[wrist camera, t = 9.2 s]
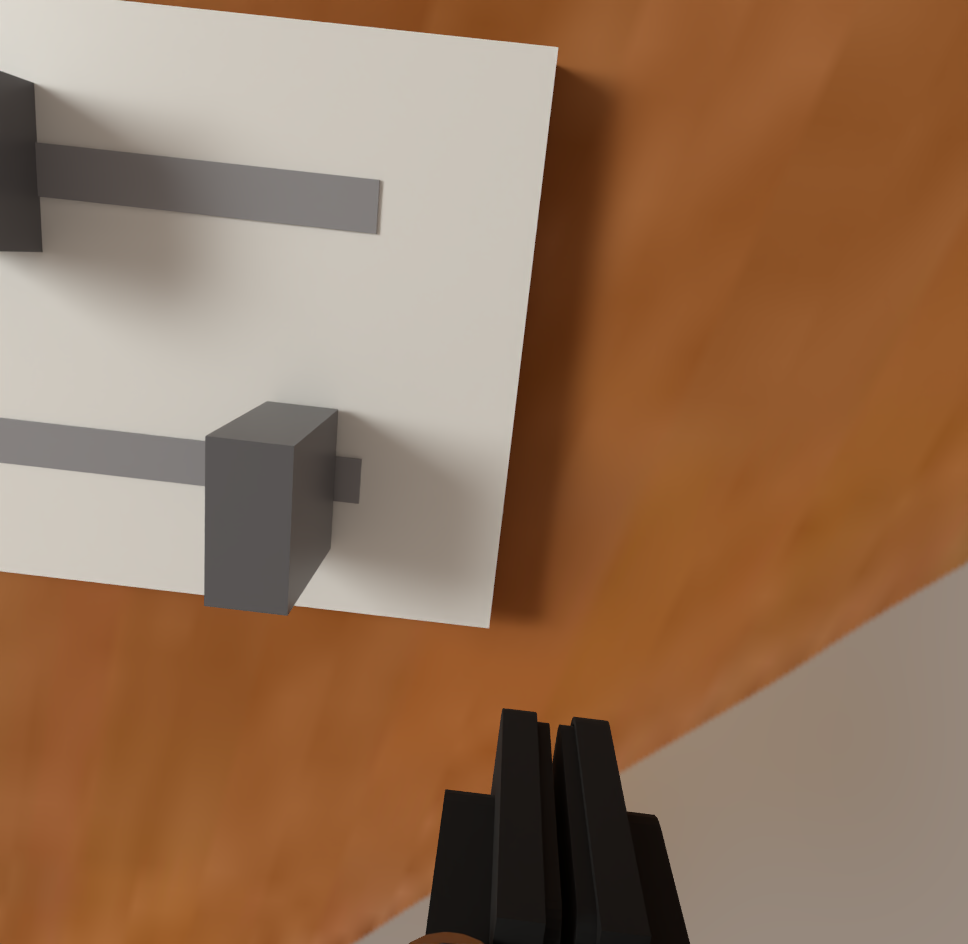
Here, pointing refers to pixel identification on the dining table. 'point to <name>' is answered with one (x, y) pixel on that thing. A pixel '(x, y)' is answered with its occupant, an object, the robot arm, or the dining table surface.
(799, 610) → the dining table surface
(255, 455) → the handle
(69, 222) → the white slider control panel
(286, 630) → the dining table surface
